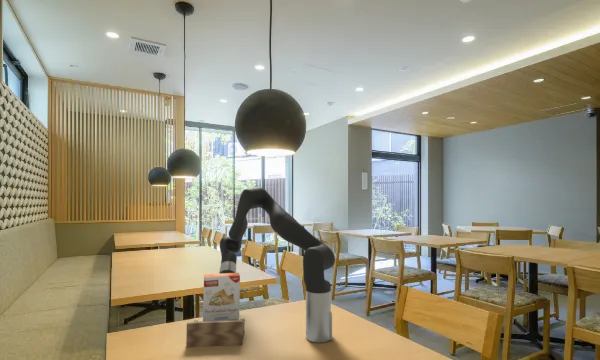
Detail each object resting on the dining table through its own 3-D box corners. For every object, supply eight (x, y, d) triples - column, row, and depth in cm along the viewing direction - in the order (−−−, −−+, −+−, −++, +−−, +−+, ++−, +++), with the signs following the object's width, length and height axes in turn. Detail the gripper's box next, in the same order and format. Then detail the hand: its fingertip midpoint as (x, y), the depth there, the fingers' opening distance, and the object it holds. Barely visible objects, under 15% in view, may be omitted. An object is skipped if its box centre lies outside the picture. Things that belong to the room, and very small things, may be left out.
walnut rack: (244, 331, 128) (244, 310, 129) (242, 344, 117) (242, 321, 117) (193, 333, 126) (194, 312, 127) (186, 347, 115) (186, 323, 115)
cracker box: (202, 332, 128) (203, 277, 129) (202, 326, 133) (203, 273, 134) (239, 328, 131) (240, 274, 132) (238, 323, 137) (238, 271, 138)
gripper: (211, 269, 148) (206, 306, 136) (241, 268, 150) (239, 305, 137) (213, 278, 153) (208, 315, 141) (242, 278, 155) (240, 314, 142)
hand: (223, 310), depth 139 cm, fingers closed
